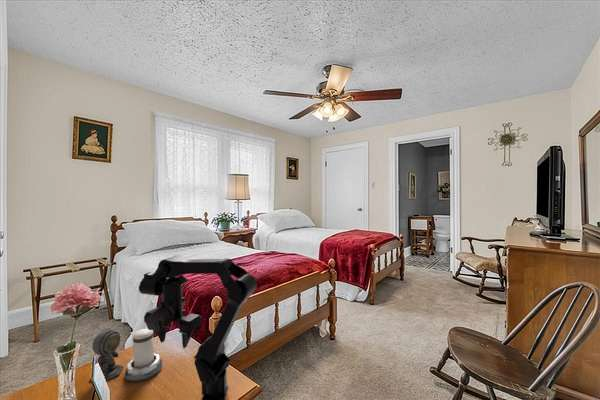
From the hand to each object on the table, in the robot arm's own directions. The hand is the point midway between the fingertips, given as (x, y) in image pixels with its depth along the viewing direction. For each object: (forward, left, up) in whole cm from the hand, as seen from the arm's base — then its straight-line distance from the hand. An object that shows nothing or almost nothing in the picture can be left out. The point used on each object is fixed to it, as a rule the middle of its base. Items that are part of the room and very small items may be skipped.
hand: (173, 344), depth 87 cm
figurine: (+25, -7, -13) cm, 29 cm away
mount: (+13, -7, -13) cm, 20 cm away
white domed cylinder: (+13, -7, -12) cm, 19 cm away
